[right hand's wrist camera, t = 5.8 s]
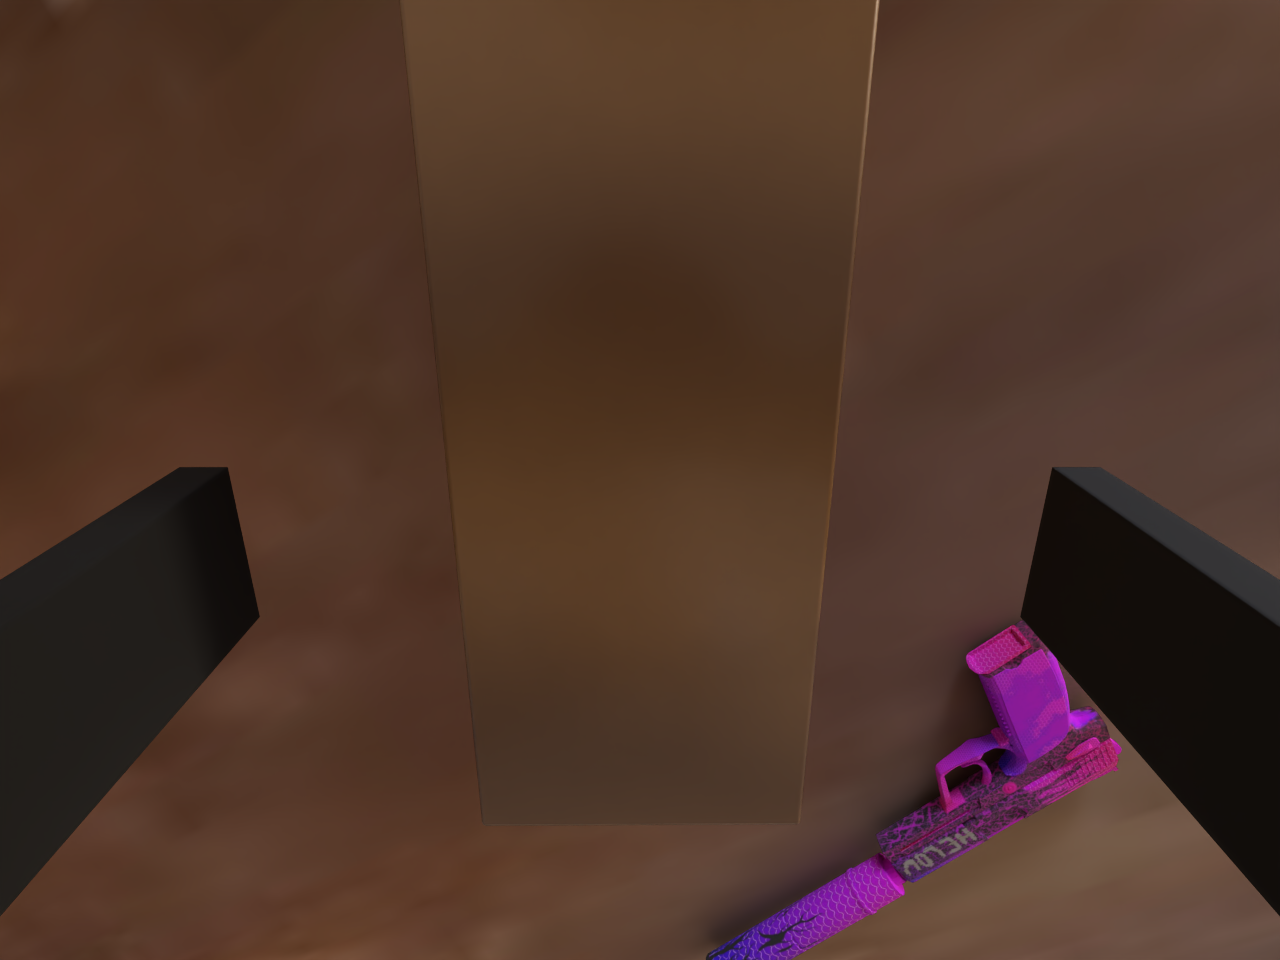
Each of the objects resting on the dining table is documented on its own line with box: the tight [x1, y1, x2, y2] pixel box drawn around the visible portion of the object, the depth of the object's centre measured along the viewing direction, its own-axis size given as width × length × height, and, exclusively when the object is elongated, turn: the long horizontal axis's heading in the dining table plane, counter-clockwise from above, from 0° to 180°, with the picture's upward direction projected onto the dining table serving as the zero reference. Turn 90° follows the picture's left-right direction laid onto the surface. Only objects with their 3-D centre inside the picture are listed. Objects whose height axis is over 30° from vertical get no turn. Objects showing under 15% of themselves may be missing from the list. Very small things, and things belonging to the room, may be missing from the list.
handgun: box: [706, 621, 1121, 960], centre depth 32 cm, size 21×8×2 cm, turn 131°
